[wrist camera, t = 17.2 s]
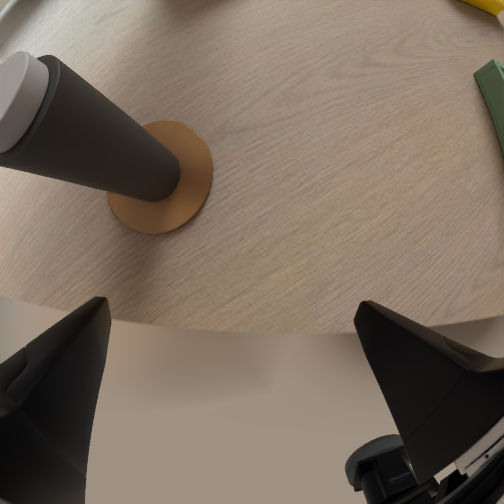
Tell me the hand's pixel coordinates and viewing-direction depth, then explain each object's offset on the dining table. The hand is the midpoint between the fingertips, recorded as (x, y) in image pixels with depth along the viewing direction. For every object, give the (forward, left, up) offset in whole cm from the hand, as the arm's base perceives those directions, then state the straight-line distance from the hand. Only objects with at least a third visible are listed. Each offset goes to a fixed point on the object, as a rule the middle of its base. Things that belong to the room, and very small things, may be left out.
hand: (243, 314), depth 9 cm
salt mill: (+8, +6, -9) cm, 14 cm away
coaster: (+8, +6, -10) cm, 14 cm away
